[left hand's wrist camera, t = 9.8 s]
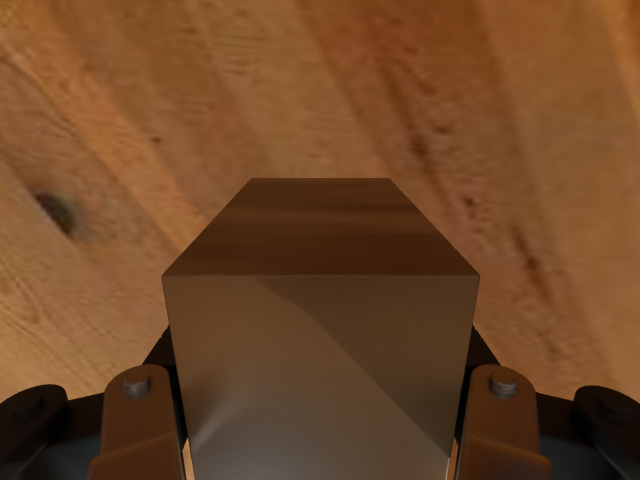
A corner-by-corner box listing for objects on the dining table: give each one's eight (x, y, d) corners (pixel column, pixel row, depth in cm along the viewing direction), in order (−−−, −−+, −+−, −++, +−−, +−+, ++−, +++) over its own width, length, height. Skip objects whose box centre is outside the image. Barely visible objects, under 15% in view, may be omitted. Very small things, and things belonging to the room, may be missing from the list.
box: (250, 178, 16) (160, 275, 7) (389, 178, 16) (482, 274, 7) (273, 521, 23) (244, 782, 14) (367, 521, 23) (397, 782, 14)
